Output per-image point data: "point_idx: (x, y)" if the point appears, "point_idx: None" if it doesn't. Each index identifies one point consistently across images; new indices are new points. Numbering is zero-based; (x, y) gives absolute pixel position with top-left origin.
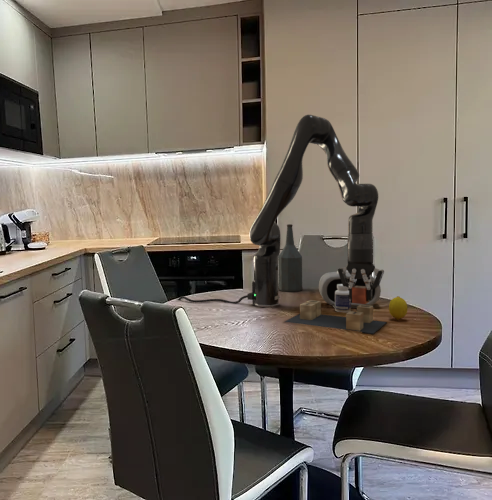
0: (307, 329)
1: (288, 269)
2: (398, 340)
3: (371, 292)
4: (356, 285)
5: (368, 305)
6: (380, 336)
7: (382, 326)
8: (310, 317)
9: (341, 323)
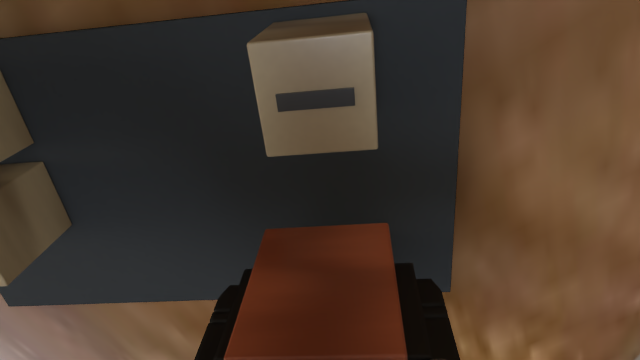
0: (169, 342)
1: None
2: (574, 315)
3: (448, 350)
4: None
5: (327, 40)
6: (487, 297)
7: (458, 113)
8: (56, 234)
9: (235, 203)
